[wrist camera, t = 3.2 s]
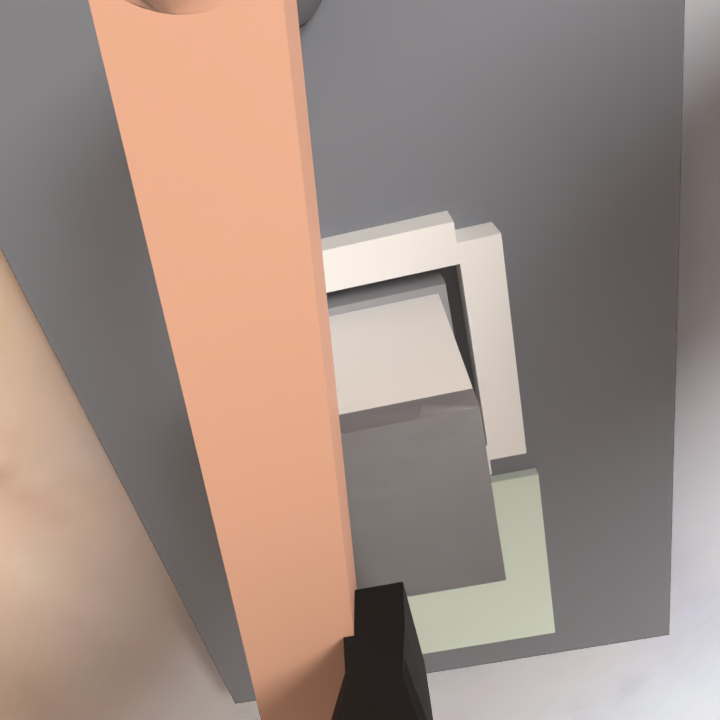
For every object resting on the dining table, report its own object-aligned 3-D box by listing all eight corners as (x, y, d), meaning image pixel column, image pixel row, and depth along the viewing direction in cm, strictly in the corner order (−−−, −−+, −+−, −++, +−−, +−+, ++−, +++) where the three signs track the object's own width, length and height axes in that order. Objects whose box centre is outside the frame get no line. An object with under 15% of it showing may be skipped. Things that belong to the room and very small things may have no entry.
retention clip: (321, -94, 11) (275, -337, 4) (367, 473, 18) (381, 776, 10) (215, -85, 11) (-15, -310, 4) (298, 478, 18) (264, 784, 10)
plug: (439, 269, 15) (490, 393, 10) (464, 415, 17) (517, 585, 12) (268, 306, 15) (226, 446, 10) (312, 445, 17) (296, 623, 12)
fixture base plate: (664, -253, 11) (722, -307, 10) (656, 611, 22) (683, 660, 20) (-114, -34, 13) (-188, -46, 11) (239, 678, 24) (231, 730, 22)
